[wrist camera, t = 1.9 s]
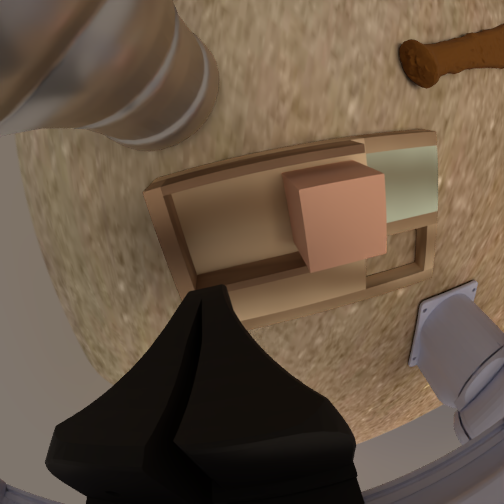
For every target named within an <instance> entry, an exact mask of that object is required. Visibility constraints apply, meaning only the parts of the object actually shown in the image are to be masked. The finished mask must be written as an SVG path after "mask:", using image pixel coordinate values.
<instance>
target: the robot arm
mask: <svg viewBox="0 0 504 504" xmlns="http://www.w3.org/2000/svg"><path fill="white" fill-rule="evenodd" d="M477 285H478V283H477V281H475V280H474V281H471V282H469V283H467V284H464V285H462V286H460V287H457V288H455V289H452V290H450V291H447V292H445V293H442V294H440V295H437V296H435V297H432V298H430V299H427V300H424V301H423V302H421V304H420V307H419V313H418V319H417V325H416V330H415V335H414V340H413V345H412V350H411V354H410V358H409V363H408V365H409V366H410V367H412V366H415V365H417V366H418V367H419V369H420V370H421V372H422V374H423V375H424V377H425V378H426V380H427V381H428V383H429V385H430V386H431V388H432V389H433V391H434V393H435V394H436V396H437V398H438V399H439V400H440V401H441V402H442V403H443V404H445V405H447V406H449V407H451V408H457V409H458V410H457V411H456V412H455V414H454V430H455V433H456V436H457V438H458V440H459V441H460V443H461V444H462V446H460V447H458V448H457V449H455V450H453V451H452V452H450V453H448V454H446V455H445V456H443V457H441V458H439V459H437V460H435V461H434V462H431V463H429V464H427V465H425V466H423V467H421V468H419V469H417V470H415V471H413V472H411V473H409V474H406V475H404V476H402V477H400V478H397V479H395V480H392V481H390V482H387V483H385V484H382V485H380V486H377V487H375V488H372V489H369V490H366V491H363V492H361V490H360V487H359V484H358V481H357V478H356V477H357V472H356V468H355V466H354V463H353V458H354V452H355V448H356V441H355V437H354V435H353V433H352V431H351V429H350V428H349V426H348V424H347V423H346V421H345V420H344V419H343V417H342V416H341V415H340V413H339V412H338V411H337V409H336V408H335V407H334V406H333V405H332V403H331V402H330V401H329V400H328V399H327V398H326V397H324V396H323V395H321V394H319V393H318V392H316V391H314V390H313V389H311V388H309V387H308V386H306V385H305V384H303V383H302V382H300V381H299V380H298V379H296V378H295V377H294V376H292V375H291V374H289V373H288V372H287V371H286V370H285V369H284V368H282V367H281V366H280V365H279V364H278V363H277V362H275V361H274V360H273V359H272V358H271V357H270V356H269V355H268V354H267V353H266V352H265V351H264V350H263V349H262V348H261V347H260V346H259V345H258V344H257V343H256V341H255V340H254V339H253V338H252V337H251V335H250V334H249V333H248V331H247V330H246V329H245V327H244V326H243V325H242V323H241V322H240V320H239V318H238V317H237V315H236V313H235V312H234V310H233V306H232V303H231V300H230V297H229V293H228V290H227V287H226V286H225V285H223V284H220V285H215V286H211V287H207V288H202V289H198V290H193V291H189V292H188V293H187V295H186V296H185V298H184V299H183V301H182V302H181V304H180V305H179V307H178V309H177V310H176V312H175V313H174V315H173V316H172V318H171V319H170V321H169V322H168V324H167V325H166V327H165V328H164V330H163V331H162V332H161V334H160V335H159V336H158V338H157V339H156V340H155V342H154V343H153V344H152V346H151V347H150V348H149V349H148V351H147V352H146V353H145V354H144V355H143V357H142V358H141V359H140V360H139V361H138V362H137V363H136V364H135V365H134V366H133V367H132V369H131V370H130V371H129V372H127V373H126V374H125V375H124V376H123V377H122V378H121V379H120V380H119V381H118V382H117V383H116V384H115V385H114V386H113V387H112V388H110V389H109V390H108V391H107V392H106V393H104V394H103V395H102V396H100V397H99V398H98V399H97V400H95V401H94V402H93V403H91V404H90V405H88V406H87V407H86V408H84V409H83V410H81V411H80V412H78V413H76V414H75V415H74V416H72V417H70V418H68V419H67V420H65V421H64V422H62V423H60V424H58V425H57V426H56V427H55V430H54V433H53V436H52V440H51V443H50V446H49V450H48V453H47V457H46V460H45V464H46V467H47V468H48V470H49V471H50V472H51V473H52V474H53V475H54V476H55V477H57V478H58V479H59V480H61V481H62V482H64V483H65V484H67V485H68V486H70V487H72V488H73V489H75V490H77V491H79V492H80V493H82V494H83V495H85V496H87V500H86V504H504V333H503V332H502V331H501V330H500V329H499V328H498V326H497V325H496V324H495V323H494V322H493V321H492V320H491V319H490V318H489V317H488V316H487V315H486V314H485V313H484V312H483V311H482V310H481V309H480V308H479V307H478V306H477V305H476V304H475V303H474V302H473V301H474V297H475V293H476V289H477ZM0 504H63V503H60V502H56V501H52V500H49V499H46V498H43V497H40V496H37V495H34V494H31V493H28V492H26V491H23V490H20V489H18V488H15V487H13V486H10V485H8V484H6V483H5V482H4V481H3V480H1V479H0Z"/></svg>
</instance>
